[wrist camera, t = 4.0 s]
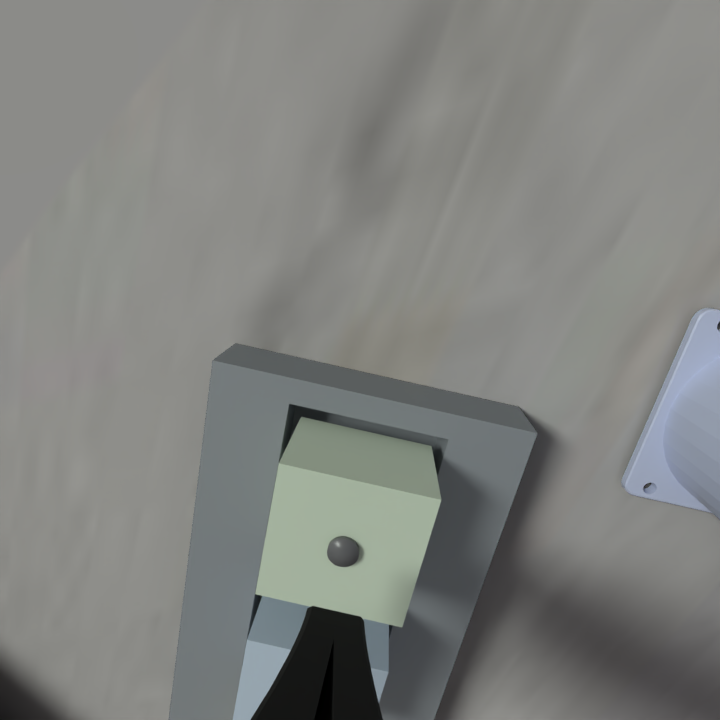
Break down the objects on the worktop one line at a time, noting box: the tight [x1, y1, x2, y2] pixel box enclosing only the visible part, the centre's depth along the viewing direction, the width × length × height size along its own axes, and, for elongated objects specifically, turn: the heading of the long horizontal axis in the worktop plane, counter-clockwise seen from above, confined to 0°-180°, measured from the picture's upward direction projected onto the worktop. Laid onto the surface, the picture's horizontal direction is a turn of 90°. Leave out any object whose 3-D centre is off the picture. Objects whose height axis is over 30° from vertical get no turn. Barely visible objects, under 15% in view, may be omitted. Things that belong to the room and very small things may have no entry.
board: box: [169, 343, 537, 720], centre depth 21 cm, size 12×22×2 cm, turn 168°
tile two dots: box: [233, 596, 389, 720], centre depth 18 cm, size 5×5×4 cm
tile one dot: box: [255, 417, 441, 627], centre depth 16 cm, size 5×5×4 cm
